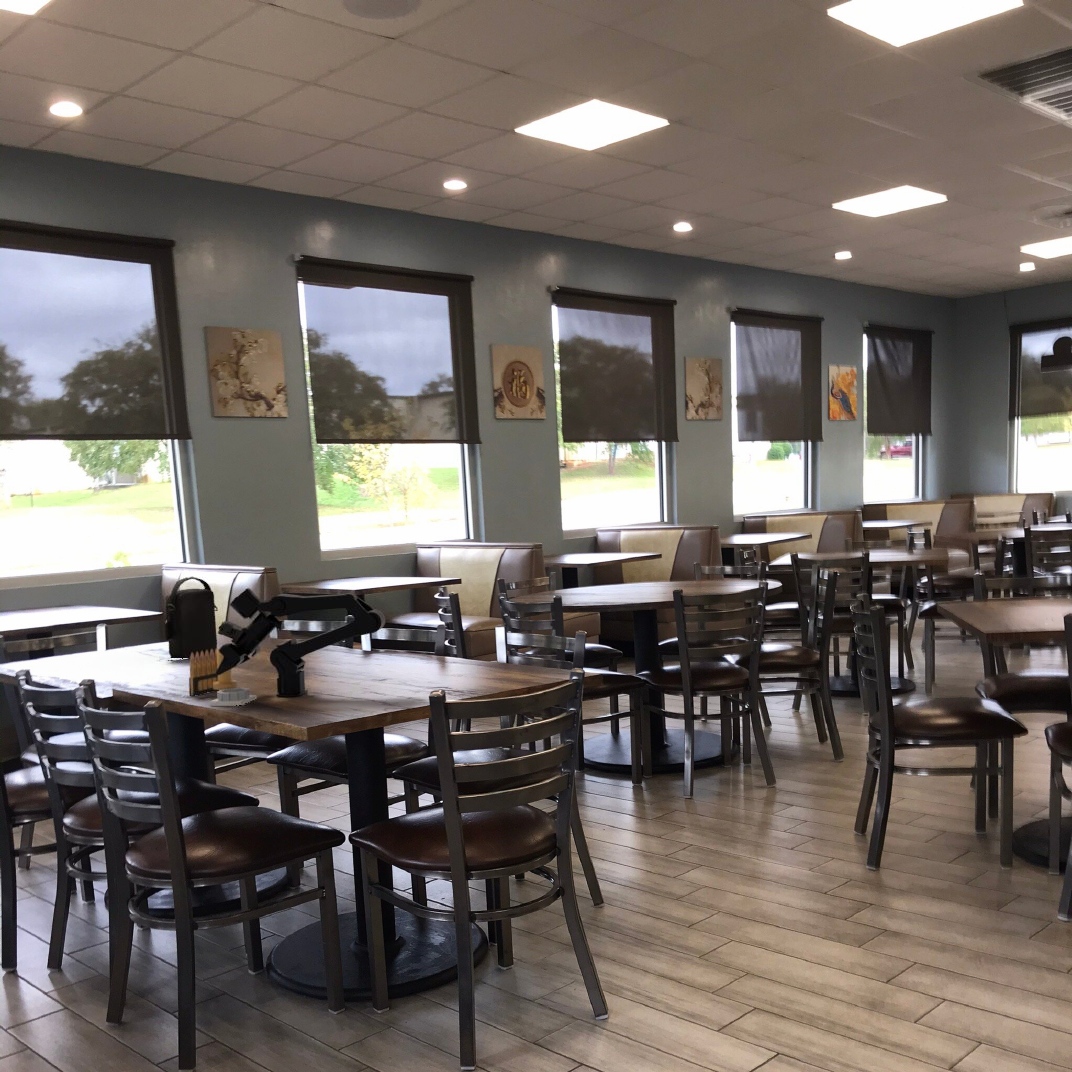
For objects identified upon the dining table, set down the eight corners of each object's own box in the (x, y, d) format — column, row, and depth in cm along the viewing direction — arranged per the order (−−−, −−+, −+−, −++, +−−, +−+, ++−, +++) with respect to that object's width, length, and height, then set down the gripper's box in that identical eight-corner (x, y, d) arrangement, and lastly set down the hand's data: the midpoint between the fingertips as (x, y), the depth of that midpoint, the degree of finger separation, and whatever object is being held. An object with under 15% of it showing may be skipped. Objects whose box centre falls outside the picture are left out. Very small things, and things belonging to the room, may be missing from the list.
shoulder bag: (175, 661, 353) (171, 579, 352) (157, 660, 358) (153, 579, 357) (225, 652, 373) (221, 574, 372) (207, 651, 377) (203, 574, 376)
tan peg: (242, 694, 285) (239, 647, 284) (230, 699, 279) (228, 650, 278) (220, 694, 286) (218, 647, 286) (209, 699, 280) (206, 651, 279)
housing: (256, 699, 277) (255, 687, 277) (241, 705, 268) (240, 693, 268) (226, 699, 278) (226, 687, 278) (210, 705, 270) (209, 693, 270)
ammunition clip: (193, 696, 285) (191, 653, 285) (189, 696, 286) (187, 652, 285) (223, 689, 294) (221, 647, 294) (218, 689, 295) (216, 647, 295)
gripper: (246, 607, 291) (209, 647, 292) (224, 614, 272) (185, 657, 273) (275, 634, 291) (238, 674, 292) (255, 643, 272) (216, 686, 273)
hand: (219, 672), depth 282 cm, fingers closed on tan peg, 4 cm apart
